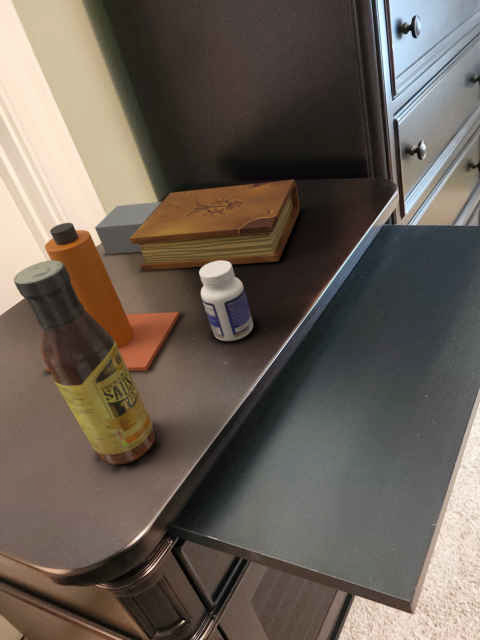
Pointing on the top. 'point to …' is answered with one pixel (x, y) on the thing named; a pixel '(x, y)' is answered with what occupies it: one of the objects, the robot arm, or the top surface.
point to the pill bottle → (225, 301)
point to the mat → (146, 338)
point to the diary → (219, 226)
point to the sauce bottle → (86, 366)
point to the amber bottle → (90, 280)
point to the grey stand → (123, 227)
